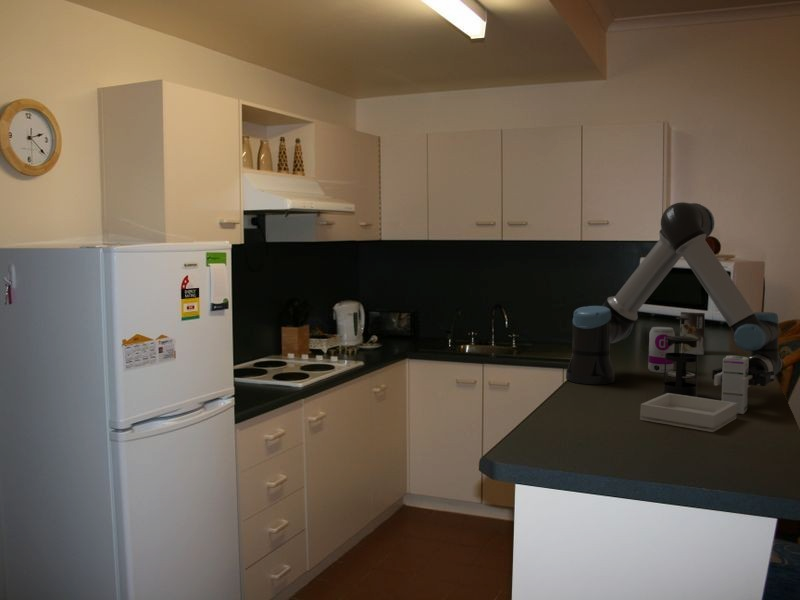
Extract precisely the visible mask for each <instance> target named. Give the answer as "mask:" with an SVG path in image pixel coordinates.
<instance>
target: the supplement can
mask: <svg viewBox="0 0 800 600" xmlns="http://www.w3.org/2000/svg"><path fill="white" fill-rule="evenodd" d="M648 336H649V339H648V341H649V342H648V363H647V366H648V367H647V368H648V370H649V371H650V372H651V373H656V374H664V372H665V354H666V353H675V344H673V345H671V346H668V345H667V339H666V337H672V336H676V332H675V330H674V328H673V327H669V326H652V327H651V329H650V331H649V335H648ZM674 363H675V361H670V360H666V372H671V371H674Z"/></svg>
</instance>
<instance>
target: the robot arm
mask: <svg viewBox="0 0 800 600" xmlns="http://www.w3.org/2000/svg"><path fill="white" fill-rule="evenodd" d="M714 228H715V218H714V215H713V213H712V211H710V209H709V208H707V207H706V206H705V205H702V204H701V203H696V202H693V203H690V202H683V201H681V202H676V203H672V205H670V206H668V207H667V208H666V209H664V212H663V213H662V215H661V217H660V230H659V232H658V233H659V239H658V241H656V243H655V244H654V246H653V247H652V248H651V250H650V251H649V252H648V254H647V255H646V256H645V257H644V259H643V260H642V261H641V263H639V265H637V268H636V269H635V270H634V271H633V273H632V274H631V275H630V277H628V279H627V280H626V282H625V283H624V284H623V286H622V287H621V288H620V289H619V290H618V292H617V293H616V295H615V296H613V295H612V296H608V297H607V299H605V301H604V303H603V304H601V305H588V306H581V307H578V308H576V309H575V310H574V311H573V317H572V346H571V347H572V350H571V357H570V361H569V364H568V366H567V368H566V371H565V379H566V380H567V381H568V380H569V382H573V383H577V384H582V385H583V384H584V385H607V384H613V383H614V382H615V377H616V376H615V372H614V368H613V364H612V362H611V357H610V353H611V351H610V350H611V344H615V343H618V342H621V341H623V340H625V339H626V338H627V337H629V335H630V334H631V332H632V331H633V329H634V328H633V327H634V325H635V323H636V322H637V320H638V318H639V317H638V311H639V310H640V309H641V307H643V306H644V304H645V303H646V301H647V300H648V299H649V298H650V296H651V295H652V294H653V293H654V291H655V290H656V289H657V288H658V286H660V284H661V283H662V281H663V280H664V279H665V278H666V277H667V275H668V274H669V273H670V272H671V270H672V269H673V268H674V267H675V265H677V263H678V262H679V260H680V259H681V258H682V257H683V259H684V260H685V262H686V263H687V265H688V267H689V268H690V269H691V271H692V272H693V274H694V276H696V279H697V280H698V281H699V283H700V284H701V286H702V287H703V289H704V290H705V292H706V293H707V295H708V296H709V298H710V300H711V301H712V302H713V303H714V306H715V307H716V308H717V310H718V311H719V314H721V316H722V317H723V319H724V320H725V322H726V324H727V325H728V327H730V329H731V332H732V333H733V334H734V335H733V340H734V342H735V344H736V346H737V347H738V348H740V350H743V351H745V352H746V351H747V352H750V353H749V355H750V356H749V357H748V358H749V366H748V376H746V377H744V378H742V386H741V389H746V388H748V389H749V388H750V387H752V386H755V387H756V386H758V385H759V386H761V387H766V386H767V385H768V384H769V383H771V382H775V376H776V375H778V374H779V372H780V371H781V369H782V367H783V361H782V358H781V357H780V355H779V353H780V352H779V327H780V323H779V316H778V314H777V313H775V312H767V311H762V312H761V311H760V312H759V311H757V312H755V311H754V310H753V309H752V307H751V305H750V304H749V303H748V302H747V300H746V298H745V297H744V295H743V294H742V292H741V290H739V288H738V287H737V285H736V284H735V282H734V280H733V279H732V277H730V275H729V273H728V271H727V270H726V269H725V268H724V266H723V264H722V263H721V262H720V260H719V258H718V257H717V255H716V254H715V252H714V251H713V250H712V248H711V247H710V246H709V244H708V242H707V241H706V239H707V238H708V237H710V235H711V234H712V233H713V230H714ZM722 368H723V366H722V367H718V368H716V369H713V370H712V374H711V377H712V378H711V379H712V380H713V386H715V387H716V386H719V385H722Z"/></svg>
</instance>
